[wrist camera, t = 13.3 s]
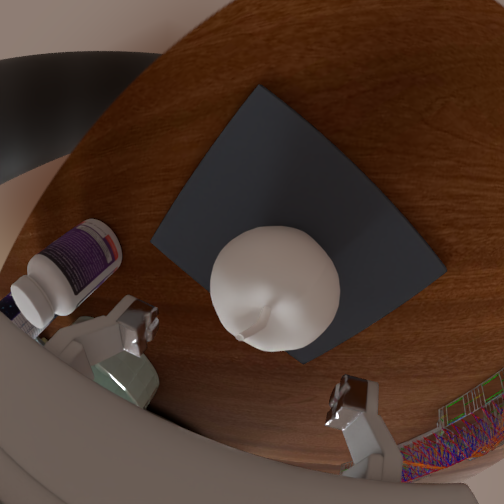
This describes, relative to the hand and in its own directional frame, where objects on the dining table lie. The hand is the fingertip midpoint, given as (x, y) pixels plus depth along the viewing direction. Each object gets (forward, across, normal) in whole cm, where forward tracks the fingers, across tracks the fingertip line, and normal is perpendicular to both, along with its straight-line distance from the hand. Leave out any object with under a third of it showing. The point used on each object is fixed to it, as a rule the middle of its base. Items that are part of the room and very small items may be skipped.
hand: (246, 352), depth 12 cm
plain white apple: (+9, 0, +1) cm, 9 cm away
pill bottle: (+10, +16, +6) cm, 19 cm away
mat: (+9, 0, +1) cm, 9 cm away
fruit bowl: (+9, +17, +24) cm, 31 cm away
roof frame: (+9, -25, +20) cm, 33 cm away
